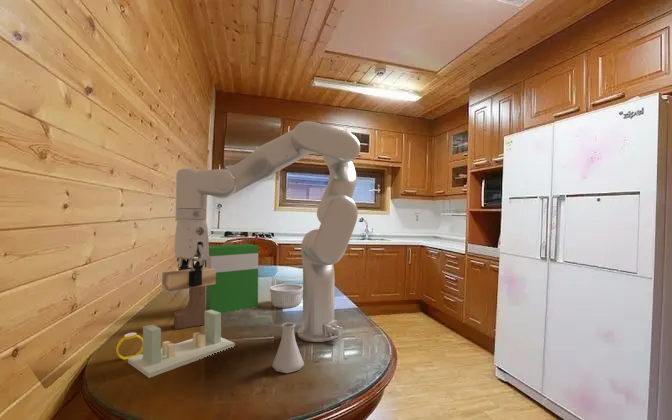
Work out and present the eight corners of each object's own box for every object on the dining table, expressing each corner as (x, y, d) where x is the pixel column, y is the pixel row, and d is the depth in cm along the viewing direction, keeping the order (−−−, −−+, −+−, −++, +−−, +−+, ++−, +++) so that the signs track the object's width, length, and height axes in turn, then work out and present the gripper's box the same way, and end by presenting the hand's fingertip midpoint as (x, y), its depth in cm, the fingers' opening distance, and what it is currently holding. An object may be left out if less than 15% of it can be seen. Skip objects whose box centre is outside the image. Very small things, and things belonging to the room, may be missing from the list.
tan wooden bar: (215, 284, 90) (215, 269, 90) (169, 291, 81) (169, 275, 81) (207, 281, 94) (207, 267, 94) (161, 288, 85) (162, 272, 85)
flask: (289, 357, 84) (289, 317, 84) (309, 365, 79) (309, 323, 79) (266, 367, 78) (266, 325, 78) (287, 377, 74) (287, 332, 74)
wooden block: (175, 330, 103) (175, 272, 103) (173, 325, 107) (174, 270, 107) (205, 325, 108) (206, 269, 108) (203, 321, 111) (203, 267, 112)
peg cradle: (234, 346, 90) (234, 313, 90) (149, 377, 73) (149, 337, 73) (210, 336, 98) (210, 305, 98) (127, 362, 80) (128, 325, 81)
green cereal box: (251, 302, 135) (251, 243, 135) (257, 307, 129) (258, 245, 129) (205, 309, 125) (206, 246, 125) (210, 314, 119) (211, 247, 119)
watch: (117, 363, 81) (115, 339, 80) (116, 360, 83) (114, 336, 82) (145, 355, 84) (144, 332, 84) (144, 352, 86) (142, 329, 86)
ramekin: (309, 303, 135) (309, 286, 135) (288, 311, 123) (288, 292, 123) (284, 298, 142) (284, 282, 142) (262, 305, 130) (262, 288, 131)
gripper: (221, 216, 85) (220, 286, 85) (189, 215, 96) (188, 278, 96) (193, 216, 79) (191, 291, 79) (162, 215, 90) (161, 281, 90)
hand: (189, 283), depth 87 cm, fingers closed on tan wooden bar, 5 cm apart
